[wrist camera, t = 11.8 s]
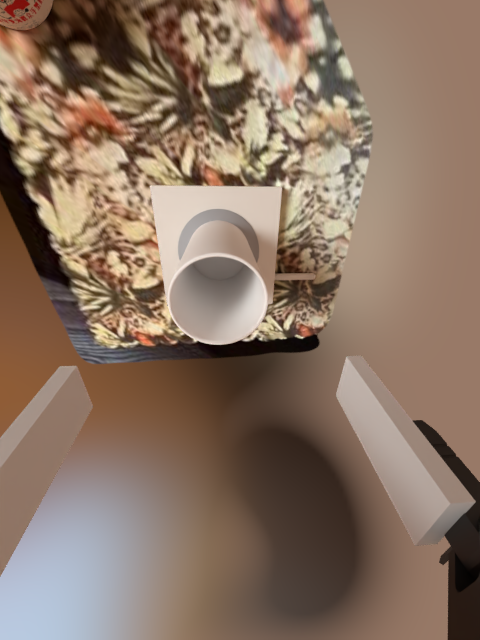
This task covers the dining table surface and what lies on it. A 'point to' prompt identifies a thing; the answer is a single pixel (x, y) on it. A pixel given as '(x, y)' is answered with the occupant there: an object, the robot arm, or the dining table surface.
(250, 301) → the cup
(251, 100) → the dining table surface
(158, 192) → the pad
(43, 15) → the teacup with lid
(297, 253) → the dining table surface
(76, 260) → the dining table surface
